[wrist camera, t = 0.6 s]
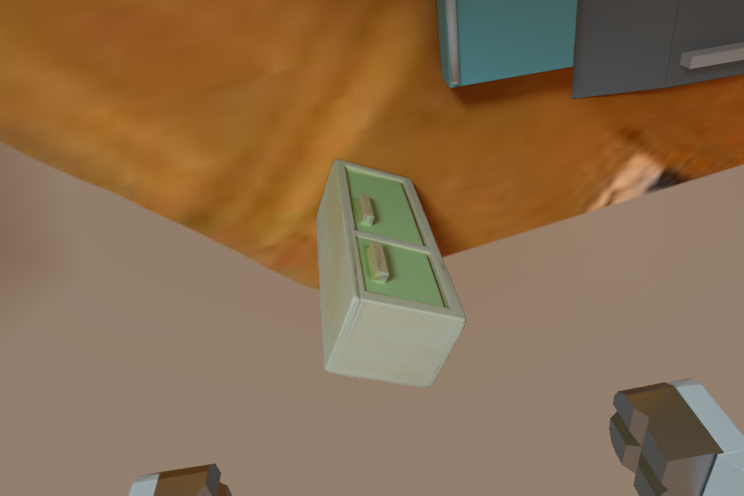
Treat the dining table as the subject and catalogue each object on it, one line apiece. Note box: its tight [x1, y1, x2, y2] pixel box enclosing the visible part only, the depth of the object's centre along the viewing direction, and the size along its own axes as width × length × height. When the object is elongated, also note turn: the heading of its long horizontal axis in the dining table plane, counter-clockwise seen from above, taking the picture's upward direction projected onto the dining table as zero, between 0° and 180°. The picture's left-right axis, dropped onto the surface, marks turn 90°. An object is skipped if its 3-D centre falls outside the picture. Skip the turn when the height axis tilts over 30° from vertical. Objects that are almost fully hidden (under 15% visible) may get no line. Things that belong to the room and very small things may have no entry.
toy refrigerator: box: [316, 160, 466, 388], centre depth 43 cm, size 8×7×21 cm
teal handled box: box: [437, 0, 577, 88], centre depth 42 cm, size 7×10×5 cm
